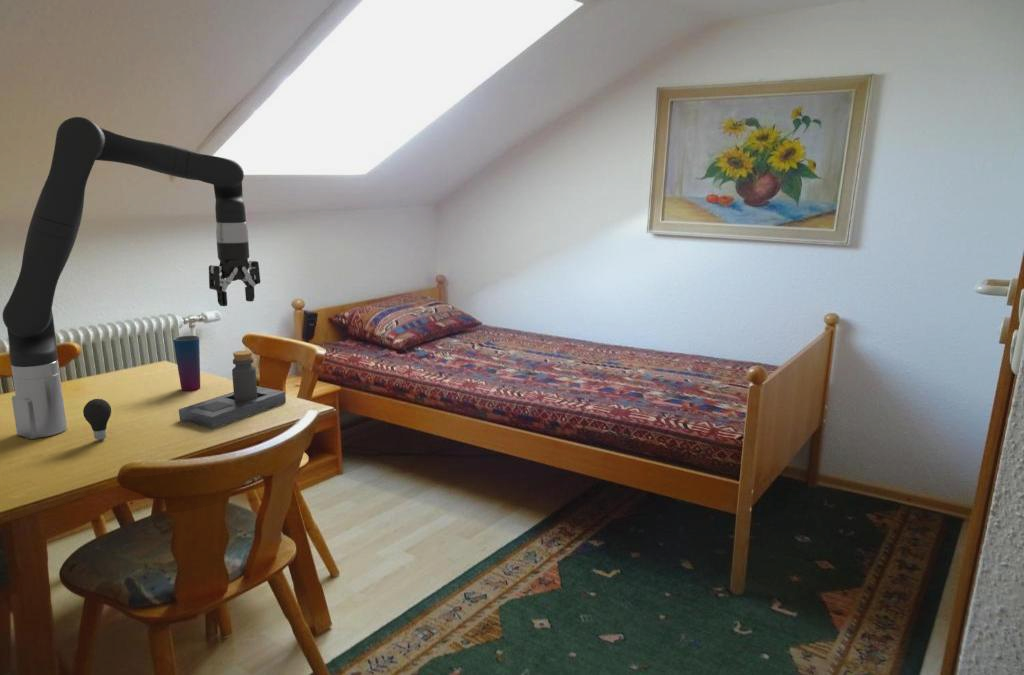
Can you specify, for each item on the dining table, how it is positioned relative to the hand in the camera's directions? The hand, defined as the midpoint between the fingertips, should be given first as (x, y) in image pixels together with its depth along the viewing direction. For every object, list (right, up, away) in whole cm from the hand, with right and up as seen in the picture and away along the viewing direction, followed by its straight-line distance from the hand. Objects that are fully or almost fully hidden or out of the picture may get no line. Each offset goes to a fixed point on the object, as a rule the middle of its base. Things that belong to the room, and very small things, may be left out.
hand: (236, 303), depth 185 cm
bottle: (0, -28, +6) cm, 28 cm away
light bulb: (-24, -33, -19) cm, 45 cm away
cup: (-22, -24, +22) cm, 39 cm away
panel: (-2, -28, +3) cm, 28 cm away
